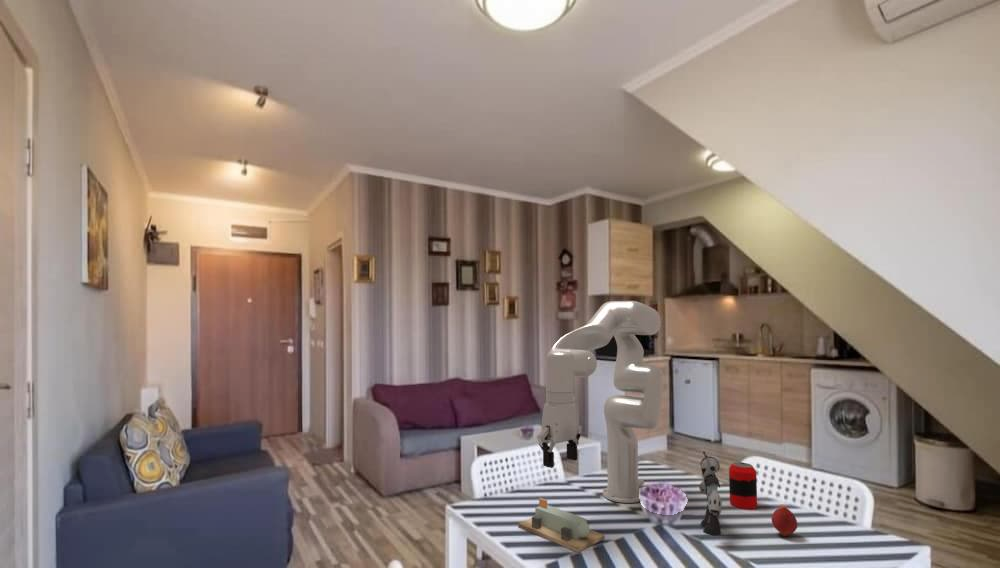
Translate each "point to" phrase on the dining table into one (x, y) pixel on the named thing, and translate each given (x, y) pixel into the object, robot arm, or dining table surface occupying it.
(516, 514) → the dining table surface
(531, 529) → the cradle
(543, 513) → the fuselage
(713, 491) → the robot
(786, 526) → the onion
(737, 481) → the soda can
